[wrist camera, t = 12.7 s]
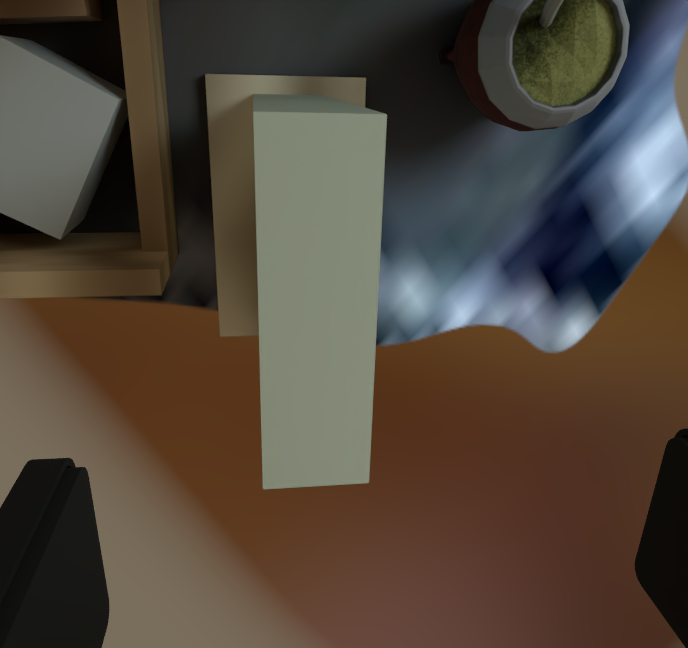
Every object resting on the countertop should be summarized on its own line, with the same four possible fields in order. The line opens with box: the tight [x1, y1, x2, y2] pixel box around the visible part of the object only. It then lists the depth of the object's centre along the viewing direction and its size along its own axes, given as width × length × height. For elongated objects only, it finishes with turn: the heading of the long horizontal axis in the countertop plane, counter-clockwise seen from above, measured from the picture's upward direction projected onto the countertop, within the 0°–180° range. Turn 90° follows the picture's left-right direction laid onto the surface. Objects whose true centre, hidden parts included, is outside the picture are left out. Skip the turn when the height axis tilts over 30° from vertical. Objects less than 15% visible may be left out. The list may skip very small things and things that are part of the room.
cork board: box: [205, 74, 366, 337], centre depth 34 cm, size 8×14×1 cm, turn 179°
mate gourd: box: [439, 0, 629, 131], centre depth 26 cm, size 8×8×15 cm
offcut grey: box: [0, 35, 128, 240], centre depth 29 cm, size 5×7×4 cm
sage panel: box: [253, 94, 387, 489], centre depth 26 cm, size 4×12×16 cm, turn 179°
